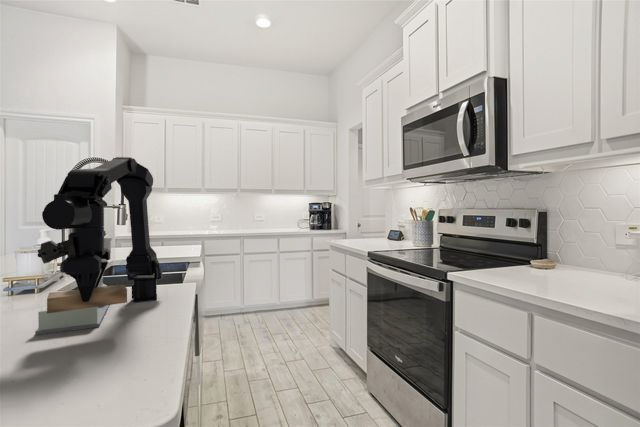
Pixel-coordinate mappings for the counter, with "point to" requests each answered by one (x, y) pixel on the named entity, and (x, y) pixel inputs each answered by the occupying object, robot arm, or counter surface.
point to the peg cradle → (70, 319)
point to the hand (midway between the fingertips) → (88, 298)
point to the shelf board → (98, 298)
